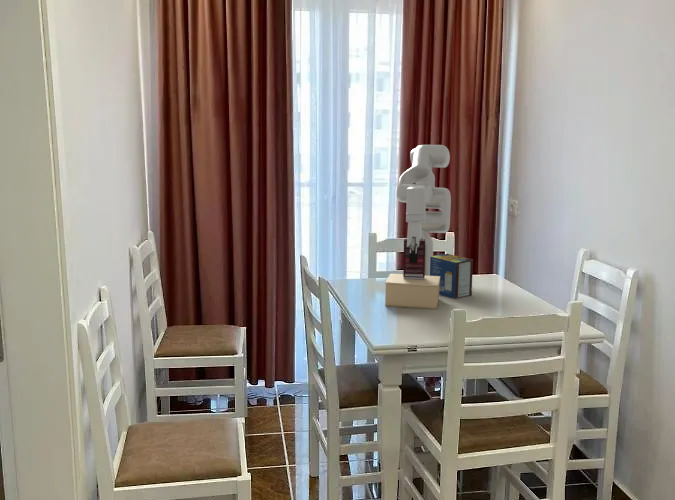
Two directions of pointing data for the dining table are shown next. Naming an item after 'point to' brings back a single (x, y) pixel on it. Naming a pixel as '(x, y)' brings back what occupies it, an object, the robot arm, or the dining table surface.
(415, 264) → the supplement box
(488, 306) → the dining table surface
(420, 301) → the carton
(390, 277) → the flap
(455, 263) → the protein box
